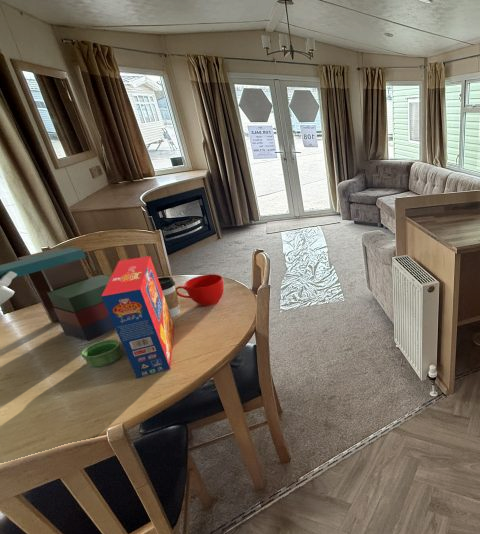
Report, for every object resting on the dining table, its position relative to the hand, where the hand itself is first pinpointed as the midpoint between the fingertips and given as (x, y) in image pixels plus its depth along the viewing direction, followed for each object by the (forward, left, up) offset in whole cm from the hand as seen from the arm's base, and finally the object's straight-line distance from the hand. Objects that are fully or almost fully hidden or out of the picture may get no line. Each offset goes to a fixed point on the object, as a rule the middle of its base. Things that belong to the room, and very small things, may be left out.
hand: (5, 270), depth 99 cm
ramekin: (+22, +3, -29) cm, 37 cm away
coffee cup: (+15, +29, -29) cm, 44 cm away
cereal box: (+32, +12, -29) cm, 45 cm away
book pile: (0, +15, -29) cm, 33 cm away
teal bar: (0, +6, -2) cm, 7 cm away
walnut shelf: (-14, +15, -29) cm, 36 cm away
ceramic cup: (+19, +40, -29) cm, 53 cm away
